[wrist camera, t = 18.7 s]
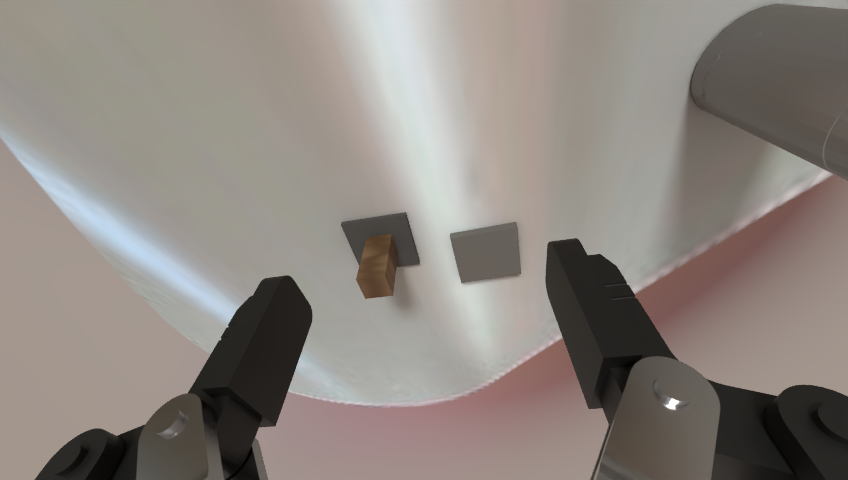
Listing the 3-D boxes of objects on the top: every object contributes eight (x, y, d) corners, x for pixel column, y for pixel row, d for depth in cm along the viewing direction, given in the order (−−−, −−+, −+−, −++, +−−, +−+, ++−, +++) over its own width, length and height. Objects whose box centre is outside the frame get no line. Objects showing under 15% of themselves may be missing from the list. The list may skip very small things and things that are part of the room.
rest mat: (405, 212, 43) (405, 215, 42) (419, 261, 48) (419, 263, 48) (341, 222, 44) (340, 224, 43) (362, 268, 49) (361, 271, 49)
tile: (517, 226, 42) (521, 273, 48) (515, 219, 44) (518, 266, 49) (450, 238, 44) (461, 282, 49) (450, 231, 45) (460, 275, 51)
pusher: (391, 233, 44) (384, 275, 38) (398, 253, 46) (392, 295, 40) (366, 237, 45) (356, 279, 38) (374, 256, 47) (365, 298, 41)
